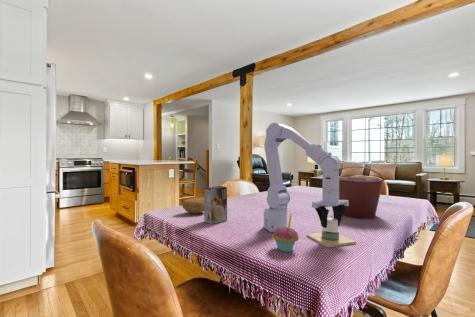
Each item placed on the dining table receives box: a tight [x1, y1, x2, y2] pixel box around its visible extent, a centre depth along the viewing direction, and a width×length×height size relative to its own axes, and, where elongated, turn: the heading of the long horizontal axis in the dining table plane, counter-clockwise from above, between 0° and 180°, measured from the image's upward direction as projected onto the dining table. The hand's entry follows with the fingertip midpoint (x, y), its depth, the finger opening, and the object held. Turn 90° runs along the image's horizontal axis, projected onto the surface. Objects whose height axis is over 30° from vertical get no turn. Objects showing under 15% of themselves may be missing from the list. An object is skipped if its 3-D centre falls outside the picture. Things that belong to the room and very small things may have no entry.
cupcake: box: [271, 213, 299, 253], centre depth 82 cm, size 9×8×12 cm
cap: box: [322, 216, 339, 232], centre depth 91 cm, size 5×5×4 cm
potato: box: [181, 197, 204, 215], centre depth 131 cm, size 10×14×8 cm
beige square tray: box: [306, 229, 357, 249], centre depth 91 cm, size 12×12×6 cm
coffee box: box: [203, 185, 228, 225], centre depth 116 cm, size 9×6×16 cm
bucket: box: [339, 165, 386, 220], centre depth 128 cm, size 24×22×25 cm
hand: (330, 226), depth 91 cm, fingers closed on cap, 5 cm apart
